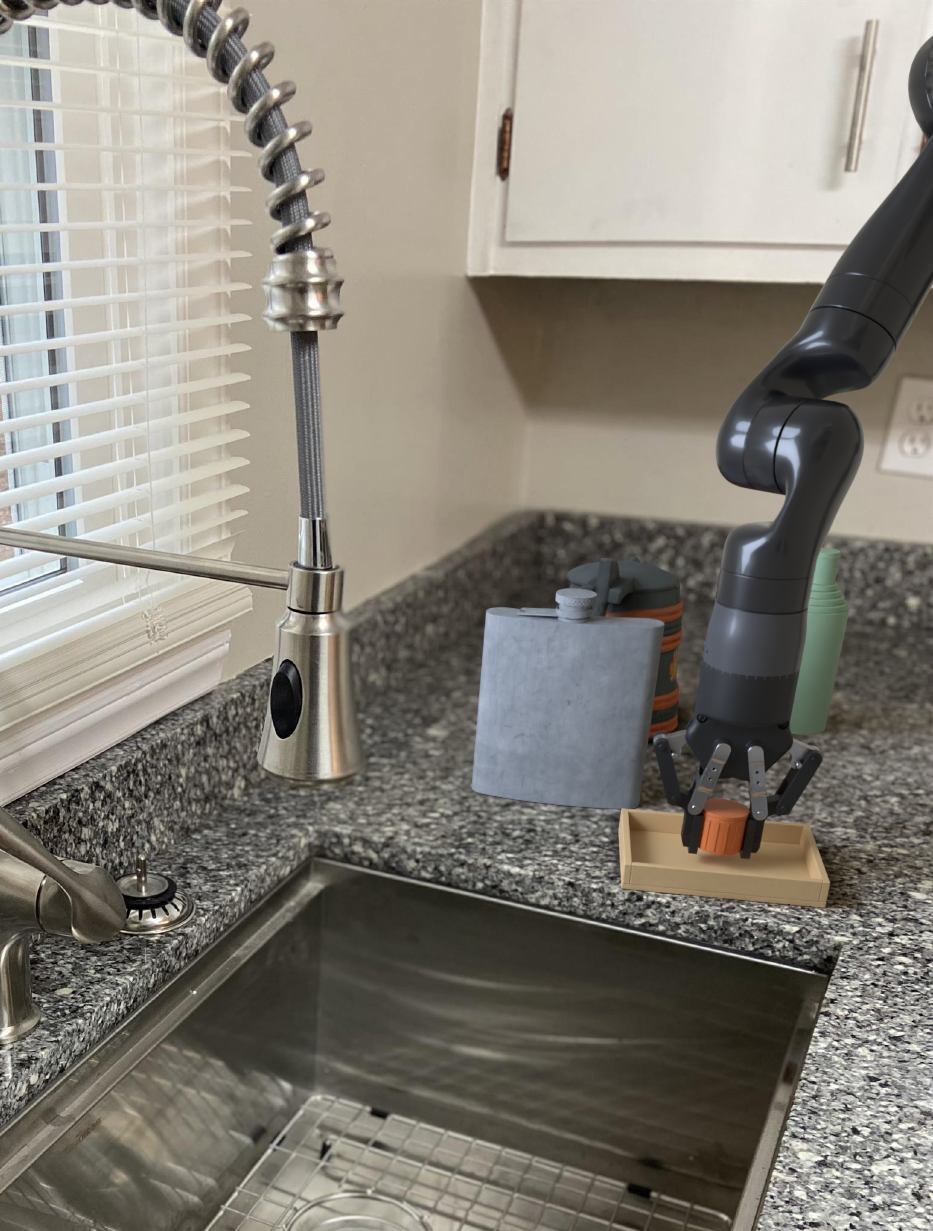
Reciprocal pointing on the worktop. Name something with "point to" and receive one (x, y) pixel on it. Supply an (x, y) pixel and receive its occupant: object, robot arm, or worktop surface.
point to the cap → (723, 826)
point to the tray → (721, 863)
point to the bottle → (820, 647)
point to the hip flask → (565, 704)
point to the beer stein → (641, 596)
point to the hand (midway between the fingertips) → (718, 851)
